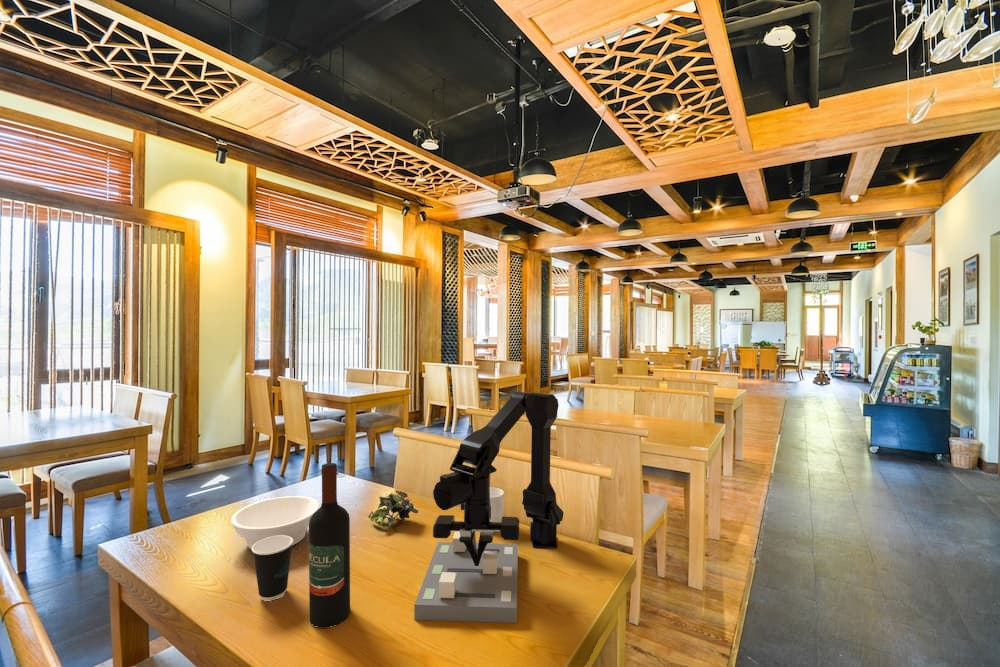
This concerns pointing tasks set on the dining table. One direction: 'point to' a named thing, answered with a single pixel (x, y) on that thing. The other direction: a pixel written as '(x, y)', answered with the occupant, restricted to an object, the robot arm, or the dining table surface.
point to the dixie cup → (272, 565)
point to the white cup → (496, 504)
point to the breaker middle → (490, 562)
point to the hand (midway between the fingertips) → (476, 565)
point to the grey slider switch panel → (470, 587)
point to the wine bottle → (329, 556)
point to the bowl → (275, 518)
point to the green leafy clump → (393, 508)
